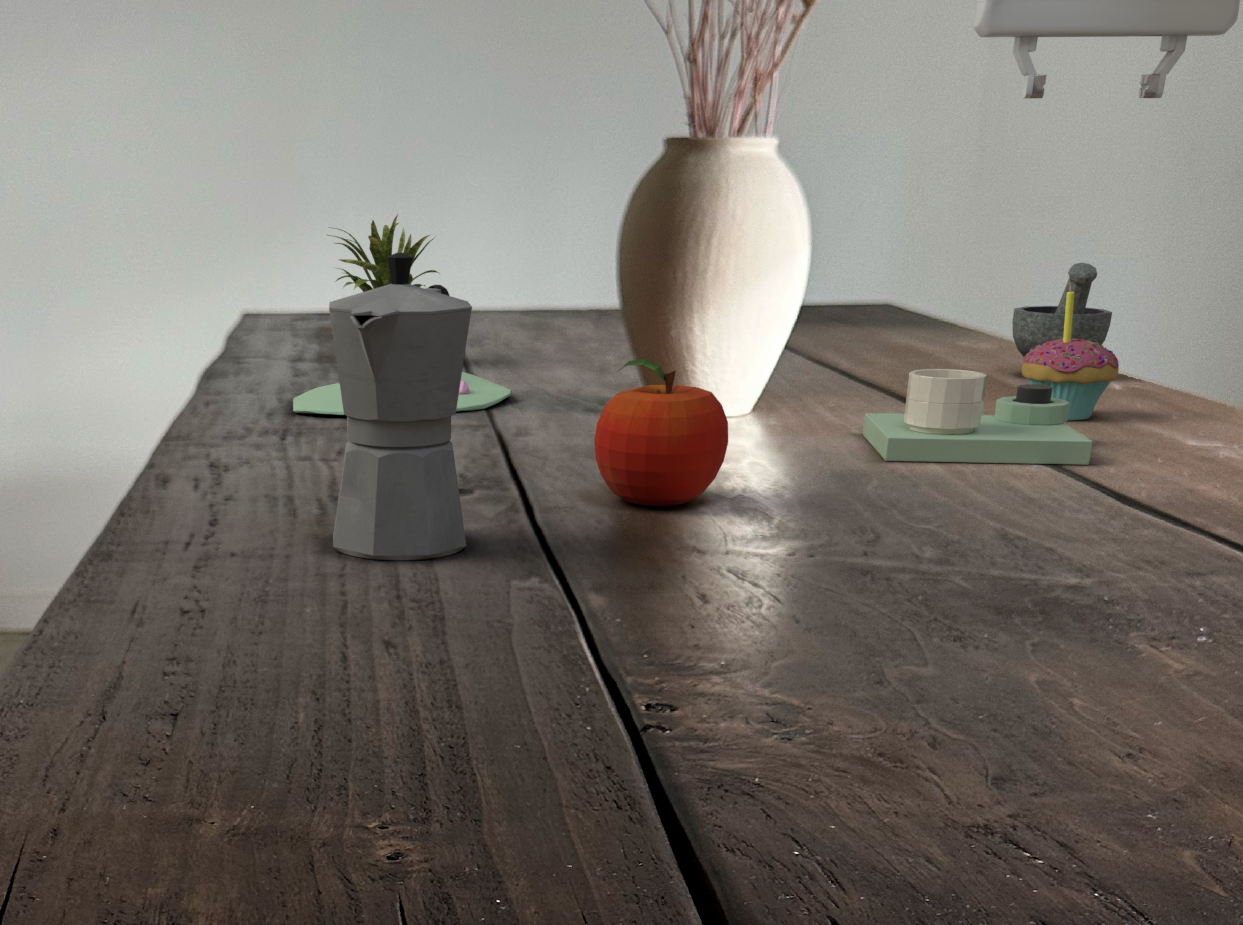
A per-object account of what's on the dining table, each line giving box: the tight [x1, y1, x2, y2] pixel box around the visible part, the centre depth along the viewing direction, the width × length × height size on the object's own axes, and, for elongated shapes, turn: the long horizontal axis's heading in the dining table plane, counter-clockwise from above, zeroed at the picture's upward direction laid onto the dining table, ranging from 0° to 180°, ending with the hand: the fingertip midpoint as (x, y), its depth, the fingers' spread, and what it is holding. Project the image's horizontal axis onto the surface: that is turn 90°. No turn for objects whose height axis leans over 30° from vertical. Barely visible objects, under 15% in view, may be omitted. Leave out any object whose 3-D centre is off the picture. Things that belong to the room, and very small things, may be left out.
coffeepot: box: [328, 252, 473, 561], centre depth 109 cm, size 15×9×18 cm, turn 159°
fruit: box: [593, 358, 729, 507], centre depth 122 cm, size 10×10×10 cm
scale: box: [862, 395, 1093, 466], centre depth 143 cm, size 16×13×4 cm
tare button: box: [1015, 383, 1052, 404], centre depth 145 cm, size 3×3×2 cm
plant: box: [292, 371, 513, 416], centre depth 168 cm, size 25×21×9 cm
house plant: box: [327, 214, 442, 292], centre depth 193 cm, size 14×14×16 cm
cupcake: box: [1021, 283, 1120, 421], centre depth 157 cm, size 9×8×12 cm
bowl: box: [903, 368, 988, 435], centre depth 141 cm, size 6×6×4 cm
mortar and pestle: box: [1011, 262, 1113, 376], centre depth 182 cm, size 11×9×12 cm
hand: (1090, 98), depth 141 cm, fingers open, 8 cm apart
